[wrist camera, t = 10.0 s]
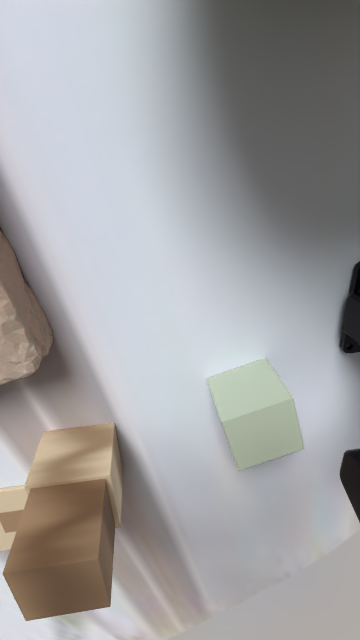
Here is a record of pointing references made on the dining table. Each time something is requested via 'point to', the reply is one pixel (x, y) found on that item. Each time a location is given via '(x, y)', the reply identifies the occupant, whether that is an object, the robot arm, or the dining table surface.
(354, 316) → the robot arm
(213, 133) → the dining table surface
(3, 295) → the brown rock
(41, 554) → the walnut block
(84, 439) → the oak block
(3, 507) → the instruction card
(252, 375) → the block
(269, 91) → the dining table surface
